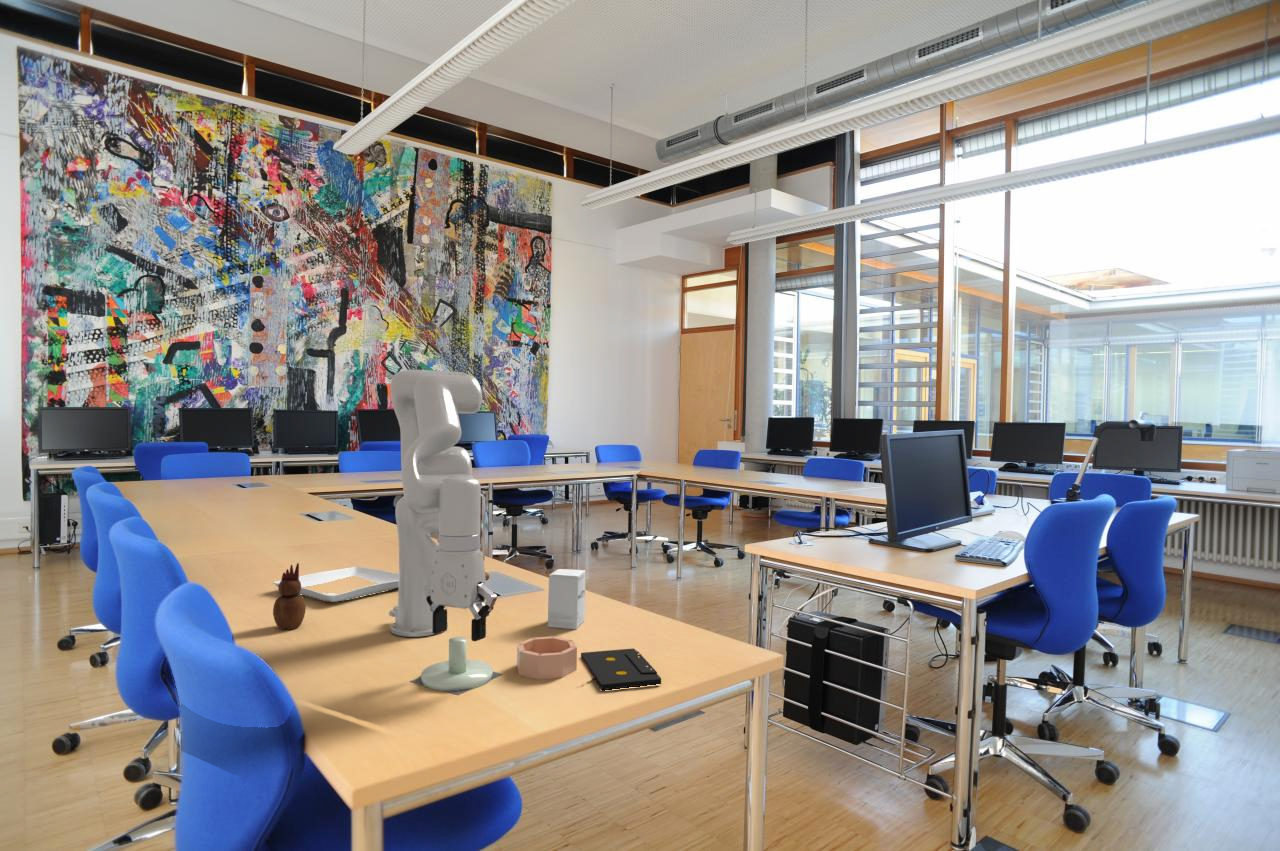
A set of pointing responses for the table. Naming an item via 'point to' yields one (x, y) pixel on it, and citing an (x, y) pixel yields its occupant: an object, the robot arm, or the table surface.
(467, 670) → the lid
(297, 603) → the wooden figurine
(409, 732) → the table surface
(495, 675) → the mat
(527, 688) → the table surface
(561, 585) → the supplement box
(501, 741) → the table surface
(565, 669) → the bowl
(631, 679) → the cassette tape
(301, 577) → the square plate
